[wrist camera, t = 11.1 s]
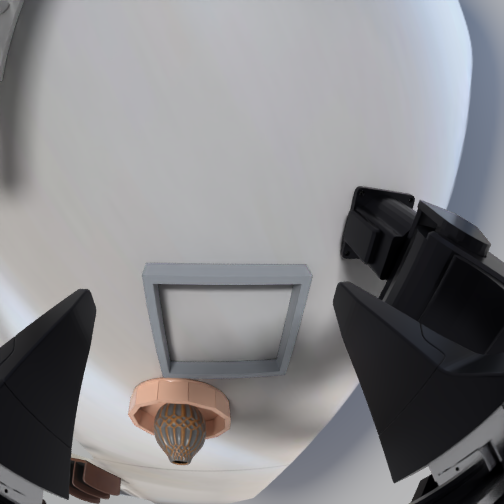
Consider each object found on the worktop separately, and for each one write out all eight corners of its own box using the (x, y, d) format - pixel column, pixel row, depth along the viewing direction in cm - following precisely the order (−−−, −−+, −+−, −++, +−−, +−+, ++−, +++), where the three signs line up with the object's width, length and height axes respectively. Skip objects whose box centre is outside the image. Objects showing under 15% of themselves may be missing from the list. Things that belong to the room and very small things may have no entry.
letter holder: (100, 474, 59) (98, 505, 47) (64, 455, 49) (59, 490, 37) (121, 478, 60) (120, 510, 47) (86, 460, 50) (82, 498, 37)
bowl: (229, 377, 30) (231, 400, 27) (227, 422, 37) (229, 440, 34) (121, 373, 28) (117, 395, 25) (144, 419, 35) (142, 437, 32)
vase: (155, 413, 32) (152, 465, 25) (155, 390, 29) (151, 451, 22) (201, 419, 34) (204, 470, 27) (209, 397, 31) (212, 457, 24)
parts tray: (306, 264, 24) (312, 275, 22) (282, 362, 30) (285, 374, 28) (146, 262, 21) (141, 274, 20) (164, 365, 28) (163, 377, 26)
